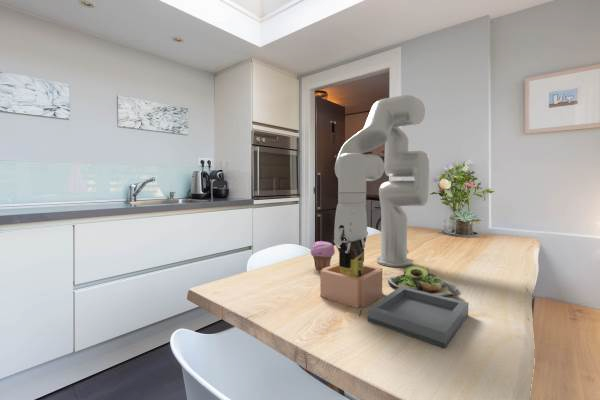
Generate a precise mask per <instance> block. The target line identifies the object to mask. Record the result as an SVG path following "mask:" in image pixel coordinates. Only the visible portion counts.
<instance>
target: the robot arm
mask: <svg viewBox="0 0 600 400" xmlns="http://www.w3.org/2000/svg"><path fill="white" fill-rule="evenodd" d="M425 116H426V108H425V104H424V102H423V101H422V99H419V98H418V97H416V96H414V95H410V94H404V95H398V96H392V97H385V98H381V99H379V100H377V101H375V102H374V103H373V105H372V106H371V108H370V111H369V114H368V116H367V118H366V121H365V124H364V125H363V128H362V129H361V130H359V131H358V132H357V133H355V134H354V135H352V136H351V137H350V138H349V139H348V140H346V141H345V142H344V143H343V145H342V146H341V147H340V150H339V152H338V154H337V157H336V160H335V163H334V173H335V176H336V178H337V181H338V182H337V183H338V185H337V186H338V187H337V188H338V189H337V190H338V191H337V197H338V198H337V200H338V201H337V202H338V203H337V205H336V209H335V217H334V231H333V233H334V235H333V238H334V239H333V243H334V245H335V246H336V248H337V251H338V258H339V259H338V260H339V261H338V263H339V266H341V267H345V268H350V257H351V253H349V249H350V245H351V242H354V241H357V240H359V242H360V245H361V248H362V250H363V263H364V262H365V248H366V241H367V237H368V235H369V232H368V219H367V218H368V217H367V216H368V214H367V182H368V181H369V182H373V181H377V180H379V179H380V178H382V176H383V174H384V173H385V175H386V176H387V177H390V178H414V180H388V181H384V182H382V183H381V184H380V186H379V188H378V196H379V197H378V198H379V203H380V204H379V205H380V220H381V221H380V256H377V258H376V263H378V264H380V265H383V266H387V267H395V268H398V267H399V268H400V267H401V268H402V267H408V266H409V267H410V265H411V264H412V260H411V259H409V258H408V257H407V256H408V255H407V254H409V252H410V251H409V250H408V249H407V248H408V217H407V213H406V212H405V210H403V208H402V207H423V206H425V205H426V204H427V203H428V199H429V189H430V188H429V186H430V159H429V156H428V154H427V153H426V152H425V151H422V150H413V151H412V150H410V151H409V137H408V135H407V134H406V133H405V132H404V131H403V130H402V129H401V128H400V127H405V126H413V125H414V126H415V125H419V124H421V123H422V122H423V121H424V119H425ZM383 145H384V160H383V158H382V157H380V156H379V155H377V154H365V153H367V152H370V151H372V150H374V149H376V148H379V147H380V146H383ZM345 239H346V241H345ZM344 243H345V244H346V247H345V245H344Z"/></svg>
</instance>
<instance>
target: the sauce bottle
mask: <svg viewBox="0 0 600 400" xmlns="http://www.w3.org/2000/svg"><path fill="white" fill-rule="evenodd" d="M344 240H345V241H346V239H344ZM344 245H345V247H346V244H345V243H344ZM349 253H351V257H350V268H345V267H341V266H340V274H344V275H348V276H352V277H356V278H359V277H361V276H363V264H364V262H363V250H362V248H361V245H360V242H359V240H357V241H354V242H351V245H350V249H349Z"/></svg>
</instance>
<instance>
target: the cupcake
mask: <svg viewBox="0 0 600 400" xmlns="http://www.w3.org/2000/svg"><path fill="white" fill-rule="evenodd" d="M335 253H336V251H335V247H334V244H333V243H331V242H328V241H323V240H320V241H315V242H314V243H313V244H312V246H311V249H310V255H311V257H313V260H314V261H313V262H314V267H315V269H316V270H317V271H321V270H322V269H323V268H326V267H328V266H331V261H332V257H333V256H334V254H335Z"/></svg>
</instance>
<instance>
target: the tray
mask: <svg viewBox="0 0 600 400" xmlns="http://www.w3.org/2000/svg"><path fill="white" fill-rule="evenodd" d="M468 316H469V302H467V301H463V300H458V299H454V298H452V297H451V298H450V297H448V296H445V297H443V296H439V295H435V294H430V293H427V292H425V291H420V290H414V289H410V288H406V287H402V286H401V287H399V288H398V289H395V290H393V291H391V292H390V293H389V294H387V295H385V296H384V297H382V298H381V299H379V300H378V301H377V302H375V303H373V304H371V306H368V308H367V322H369V323H371V324H374V325H377V326H379V327H383V328H386V329H389V330H391V331H394V332H397V333H400V334H403V335H405V336H407V337H411V338H413V339H417V340H420V341H422V342H425V343H427V344H430V345H434V346H437V347H439V348H442V349H444V348H445V349H446V348H447V347H448V345H449V344H450V343H451V341H452V339H453V338H454V337H455V335H456V333H457V332H458V331H459V330H460V329H461V327H462V325H463V323H465V320H466V319H467V318H468Z"/></svg>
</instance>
